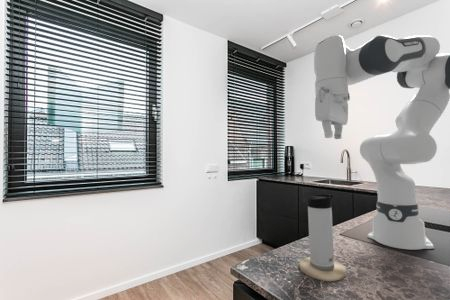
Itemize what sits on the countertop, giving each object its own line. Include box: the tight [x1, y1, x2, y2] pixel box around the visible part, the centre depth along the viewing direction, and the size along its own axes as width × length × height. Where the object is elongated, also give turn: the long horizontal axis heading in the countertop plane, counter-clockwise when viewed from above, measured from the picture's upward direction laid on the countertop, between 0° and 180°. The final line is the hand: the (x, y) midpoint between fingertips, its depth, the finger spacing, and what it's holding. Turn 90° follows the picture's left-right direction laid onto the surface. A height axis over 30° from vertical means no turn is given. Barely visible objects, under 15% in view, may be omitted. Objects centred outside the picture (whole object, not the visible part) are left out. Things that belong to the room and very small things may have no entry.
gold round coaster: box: [299, 256, 347, 282], centre depth 65 cm, size 12×12×1 cm
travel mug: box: [307, 193, 335, 271], centre depth 65 cm, size 6×7×20 cm
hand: (333, 138), depth 69 cm, fingers open, 8 cm apart
